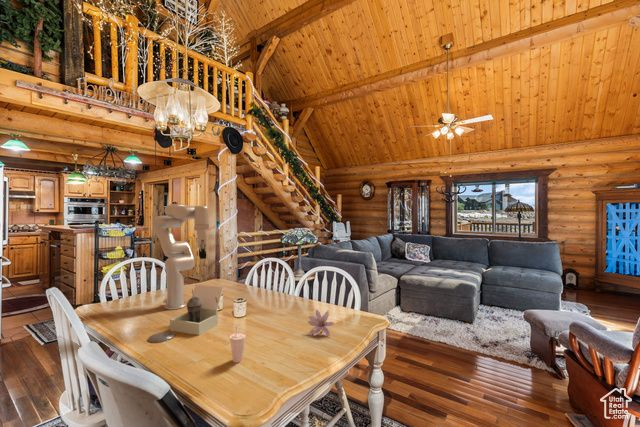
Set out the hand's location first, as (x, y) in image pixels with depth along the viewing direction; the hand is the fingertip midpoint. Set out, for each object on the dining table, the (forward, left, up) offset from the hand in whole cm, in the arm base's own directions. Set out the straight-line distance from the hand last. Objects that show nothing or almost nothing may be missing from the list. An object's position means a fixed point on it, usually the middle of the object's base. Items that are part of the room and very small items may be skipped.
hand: (202, 257), depth 169 cm
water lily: (+70, -1, -34) cm, 78 cm away
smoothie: (+47, -36, -34) cm, 69 cm away
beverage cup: (+6, -14, -34) cm, 37 cm away
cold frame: (+6, -12, -34) cm, 36 cm away
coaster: (0, -29, -34) cm, 45 cm away
